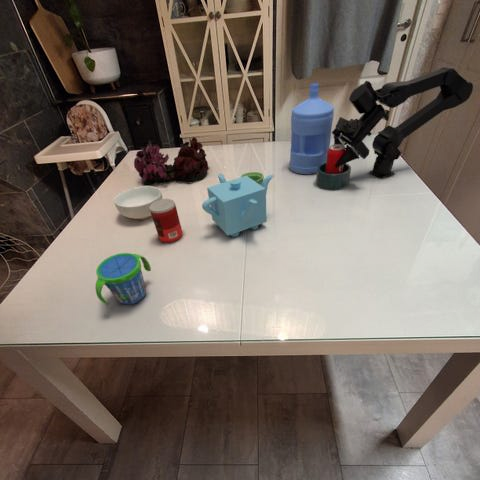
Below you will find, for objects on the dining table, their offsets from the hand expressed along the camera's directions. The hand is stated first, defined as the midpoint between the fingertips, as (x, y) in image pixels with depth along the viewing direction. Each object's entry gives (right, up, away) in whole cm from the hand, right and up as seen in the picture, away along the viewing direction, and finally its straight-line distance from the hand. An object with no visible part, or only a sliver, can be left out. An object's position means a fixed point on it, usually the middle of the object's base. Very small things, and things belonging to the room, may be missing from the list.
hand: (331, 163), depth 108 cm
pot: (+2, -5, +5) cm, 7 cm away
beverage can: (+2, -4, +5) cm, 7 cm away
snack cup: (-62, -51, -29) cm, 85 cm away
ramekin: (-28, -5, +9) cm, 30 cm away
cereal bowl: (-69, -18, +2) cm, 71 cm away
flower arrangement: (-62, +5, +22) cm, 66 cm away
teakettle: (-33, -25, -9) cm, 42 cm away
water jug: (-5, +7, +17) cm, 19 cm away
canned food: (-56, -30, -10) cm, 64 cm away
